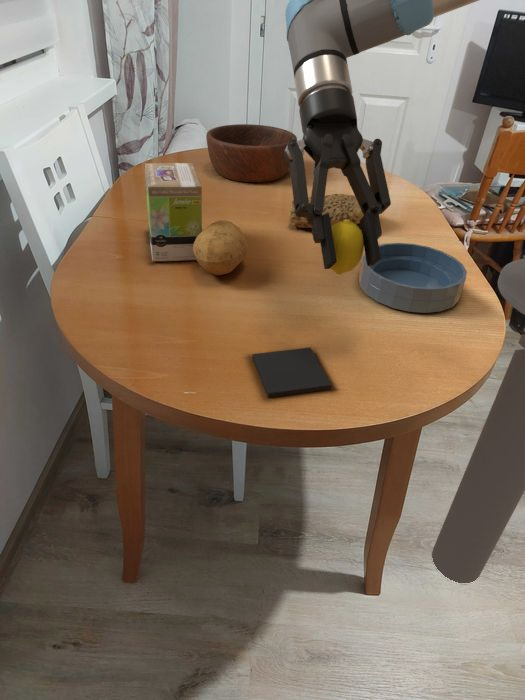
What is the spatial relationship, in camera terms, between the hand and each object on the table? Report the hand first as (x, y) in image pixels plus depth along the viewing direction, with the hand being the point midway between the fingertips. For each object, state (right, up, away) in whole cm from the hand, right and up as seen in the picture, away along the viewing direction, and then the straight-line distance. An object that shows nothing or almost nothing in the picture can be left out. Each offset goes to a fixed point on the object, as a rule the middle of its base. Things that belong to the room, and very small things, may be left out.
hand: (352, 263), depth 68 cm
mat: (-8, -15, +6) cm, 18 cm away
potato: (-20, +4, +30) cm, 37 cm away
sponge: (+4, +17, +51) cm, 54 cm away
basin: (+15, 0, +28) cm, 32 cm away
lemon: (-1, -1, +5) cm, 5 cm away
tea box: (-30, +10, +38) cm, 49 cm away
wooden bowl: (-15, +39, +80) cm, 91 cm away
